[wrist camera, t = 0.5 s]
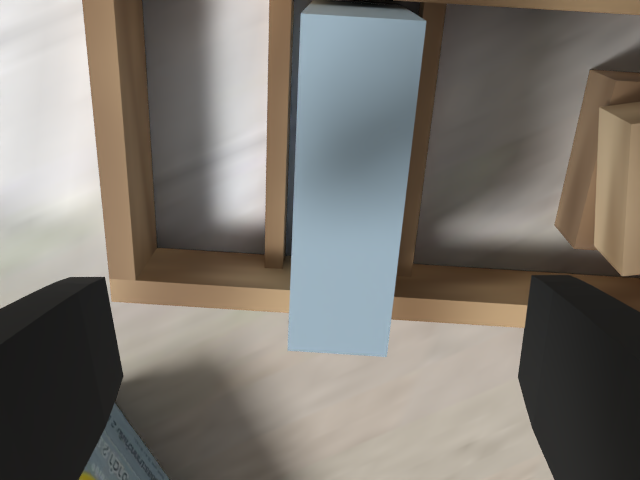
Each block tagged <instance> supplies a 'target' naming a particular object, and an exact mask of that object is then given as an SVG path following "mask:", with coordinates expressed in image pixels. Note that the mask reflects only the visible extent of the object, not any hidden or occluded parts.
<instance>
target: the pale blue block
mask: <svg viewBox="0 0 640 480" xmlns="http://www.w3.org/2000/svg"><path fill="white" fill-rule="evenodd" d="M425 29H426V20H424V19H422V18H421V17H419V16H418V15H416V14H414V13H413V12H411V11H410V10H408V9H406V8H405V7H403V6H402V5H399V4H382V3H365V2H348V1H332V0H312V1H311V3H310V4H309V5H308V6H307V7H306V8H305V9H304V10H303V12H302V13H301V20H300V46H299V72H298V98H297V124H296V149H295V175H294V201H293V227H292V253H291V279H290V305H289V331H288V351H303V352H318V353H334V354H350V355H365V356H381V357H387V350H388V342H389V333H390V325H391V316H392V308H393V299H394V291H395V283H396V274H397V266H398V257H399V249H400V240H401V232H402V223H403V215H404V207H405V198H406V190H407V181H408V173H409V164H410V156H411V147H412V139H413V131H414V122H415V114H416V105H417V97H418V88H419V80H420V71H421V63H422V54H423V46H424V38H425Z"/></svg>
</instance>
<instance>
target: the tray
mask: <svg viewBox="0 0 640 480" xmlns="http://www.w3.org/2000/svg"><path fill="white" fill-rule="evenodd" d="M395 1H412V2H420V6H419V15H418V16H419V17H421V18H422V19H424V20H426V29H425V38H424V46H423V54H422V63H421V71H420V80H419V88H418V97H417V105H416V114H415V122H414V131H413V139H412V147H411V156H410V164H409V173H408V181H407V190H406V198H405V207H404V215H403V223H402V232H401V240H400V249H399V257H398V266H397V274H396V283H395V291H394V299H393V308H392V316H391V319H393V320H409V321H424V322H440V323H456V324H472V325H487V326H503V327H519V328H525V320H526V313H527V305H528V298H529V290H530V283H531V275H571V276H573V277H575V278H578V279H580V280H582V281H584V282H586V283H588V284H590V285H592V286H594V287H596V288H598V289H599V290H601V291H603V292H605V293H607V294H609V295H610V296H612V297H614V298H616V299H618V300H619V301H621V302H623V303H625V304H626V305H628V306H630V307H632V308H634V309H635V310H637V311H639V312H640V278H630V277H614V276H598V275H582V274H566V273H550V272H534V271H519V270H503V269H487V268H471V267H455V266H439V265H423V264H413V259H414V252H415V244H416V236H417V228H418V221H419V213H420V205H421V198H422V190H423V182H424V174H425V167H426V159H427V151H428V144H429V136H430V128H431V120H432V113H433V105H434V97H435V90H436V82H437V74H438V66H439V59H440V51H441V43H442V36H443V28H444V20H445V12H446V5H447V4H462V5H479V6H496V7H513V8H530V9H546V10H563V11H580V12H597V13H614V14H630V15H640V0H395ZM82 4H83V14H84V24H85V34H86V45H87V55H88V65H89V75H90V85H91V96H92V106H93V116H94V126H95V136H96V147H97V157H98V167H99V177H100V187H101V198H102V208H103V218H104V228H105V238H106V249H107V259H108V269H109V279H110V289H111V300H112V302H125V303H141V304H157V305H173V306H188V307H204V308H220V309H236V310H251V311H267V312H283V313H289V305H290V279H291V256H285V251H286V222H287V193H288V164H289V134H290V105H291V76H292V47H293V17H294V0H269V53H268V106H267V159H266V212H265V255H264V254H248V253H232V252H216V251H200V250H184V249H168V248H157V238H156V221H155V205H154V188H153V172H152V155H151V139H150V122H149V106H148V89H147V73H146V56H145V40H144V23H143V7H142V0H82Z"/></svg>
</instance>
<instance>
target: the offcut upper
mask: <svg viewBox="0 0 640 480" xmlns="http://www.w3.org/2000/svg"><path fill="white" fill-rule="evenodd" d="M594 246H595V247H596V249H597V250H598V251H599V252H600V253H601V254H602V255H603V256H604V257H605V258H606V259H607V261H608V262H609V263H610V264H611V265H612V266H613V267H614V268H615V269H616V270H617V271H618V273H619V274H620V275H621V276H631V275H640V102H634V103H626V104H619V105H612V106H604V107H599V128H598V153H597V179H596V205H595V231H594Z"/></svg>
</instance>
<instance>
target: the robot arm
mask: <svg viewBox="0 0 640 480" xmlns="http://www.w3.org/2000/svg"><path fill="white" fill-rule="evenodd" d="M122 379H123V372H122V366H121V361H120V356H119V350H118V345H117V340H116V334H115V329H114V323H113V318H112V313H111V307H110V302H109V297H108V291H107V286H106V281H105V277H69V278H66V279H63V280H60V281H58V282H55V283H53V284H51V285H48V286H46V287H44V288H42V289H40V290H37V291H35V292H33V293H31V294H29V295H27V296H25V297H23V298H21V299H19V300H17V301H15V302H13V303H11V304H9V305H7V306H5V307H3V308H1V309H0V480H79V478H80V476H81V474H82V473H83V471H84V469H85V467H86V465H87V463H88V461H89V459H90V457H91V455H92V453H93V451H94V449H95V447H96V445H97V443H98V441H99V439H100V437H101V435H102V433H103V431H104V429H105V427H106V425H107V422H108V419H109V417H110V414H111V411H112V409H113V406H114V403H115V400H116V397H117V394H118V391H119V388H120V385H121V382H122ZM518 379H519V382H520V386H521V390H522V394H523V398H524V401H525V405H526V408H527V412H528V415H529V419H530V422H531V425H532V429H533V431H534V433H535V436H536V438H537V441H538V443H539V445H540V448H541V450H542V452H543V454H544V457H545V459H546V461H547V464H548V466H549V468H550V471H551V473H552V475H553V477H554V480H640V312H639V311H637V310H635V309H634V308H632V307H630V306H628V305H626V304H625V303H623V302H621V301H619V300H618V299H616V298H614V297H612V296H610V295H609V294H607V293H605V292H603V291H601V290H599V289H598V288H596V287H594V286H592V285H590V284H588V283H586V282H584V281H582V280H580V279H578V278H575V277H573V276H571V275H531V283H530V290H529V298H528V305H527V313H526V320H525V328H524V336H523V343H522V351H521V358H520V366H519V373H518Z"/></svg>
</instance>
